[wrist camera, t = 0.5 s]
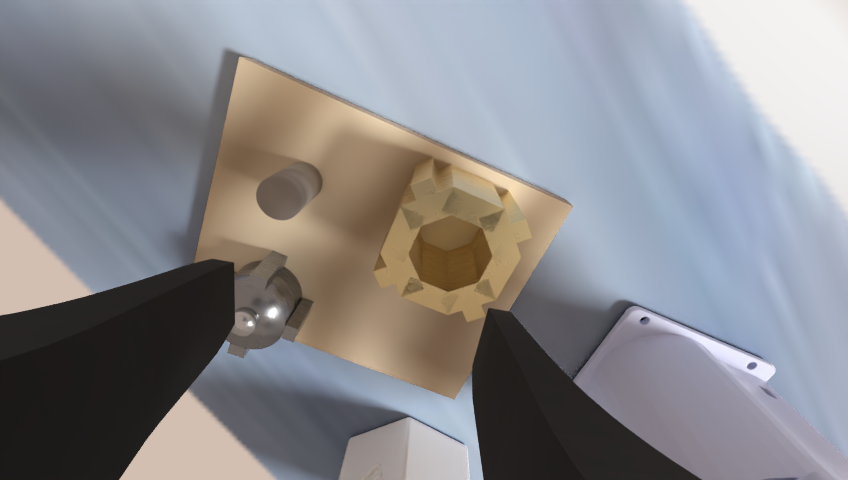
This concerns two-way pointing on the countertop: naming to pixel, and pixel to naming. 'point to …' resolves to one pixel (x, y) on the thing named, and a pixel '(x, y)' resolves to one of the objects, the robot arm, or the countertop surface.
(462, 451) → the jar
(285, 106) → the gear board
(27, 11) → the countertop surface
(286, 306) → the gear
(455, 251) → the brass gear
